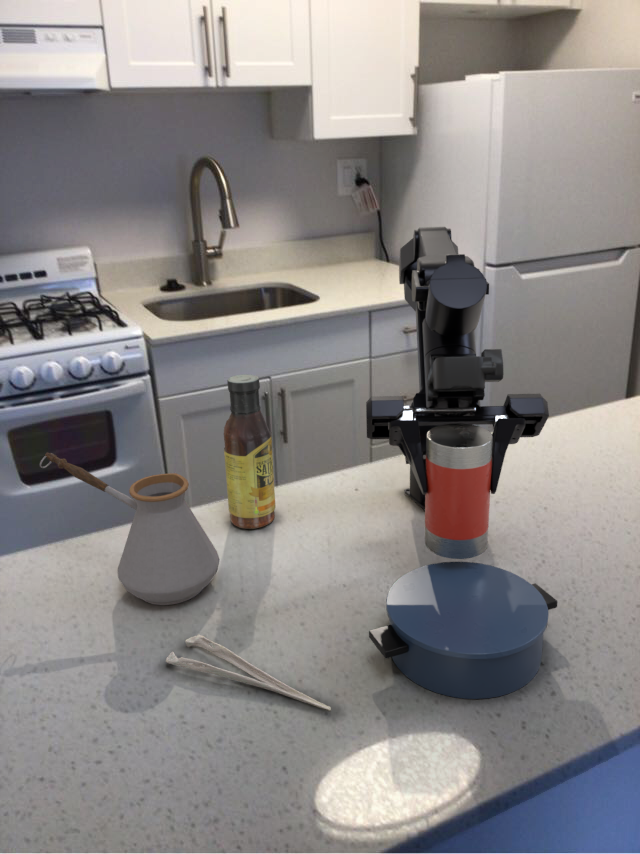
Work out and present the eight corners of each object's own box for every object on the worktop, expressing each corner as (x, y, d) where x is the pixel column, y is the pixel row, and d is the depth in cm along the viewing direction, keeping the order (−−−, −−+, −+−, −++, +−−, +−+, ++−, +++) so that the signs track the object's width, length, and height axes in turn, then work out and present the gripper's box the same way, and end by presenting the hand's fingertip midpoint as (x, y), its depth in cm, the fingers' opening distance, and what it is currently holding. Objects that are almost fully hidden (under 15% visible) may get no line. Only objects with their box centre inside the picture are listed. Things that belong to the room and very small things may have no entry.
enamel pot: (416, 728, 65) (416, 679, 63) (344, 629, 79) (343, 586, 77) (595, 667, 72) (600, 621, 70) (500, 585, 85) (502, 545, 83)
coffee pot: (238, 569, 90) (228, 453, 85) (188, 624, 80) (173, 497, 75) (92, 541, 98) (74, 434, 93) (30, 588, 88) (6, 471, 83)
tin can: (433, 523, 85) (435, 420, 80) (492, 533, 83) (498, 426, 78) (417, 553, 79) (418, 443, 75) (480, 564, 77) (485, 451, 72)
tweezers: (162, 667, 74) (161, 651, 73) (193, 641, 78) (192, 625, 77) (317, 739, 66) (317, 721, 65) (342, 706, 70) (343, 688, 69)
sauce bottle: (269, 533, 98) (259, 387, 91) (223, 530, 100) (210, 386, 92) (281, 510, 104) (273, 371, 97) (238, 507, 105) (226, 370, 98)
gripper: (364, 322, 77) (367, 466, 71) (551, 317, 76) (570, 464, 69) (365, 373, 87) (367, 503, 81) (530, 369, 86) (545, 501, 80)
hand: (458, 493), depth 77 cm, fingers closed on tin can, 7 cm apart
